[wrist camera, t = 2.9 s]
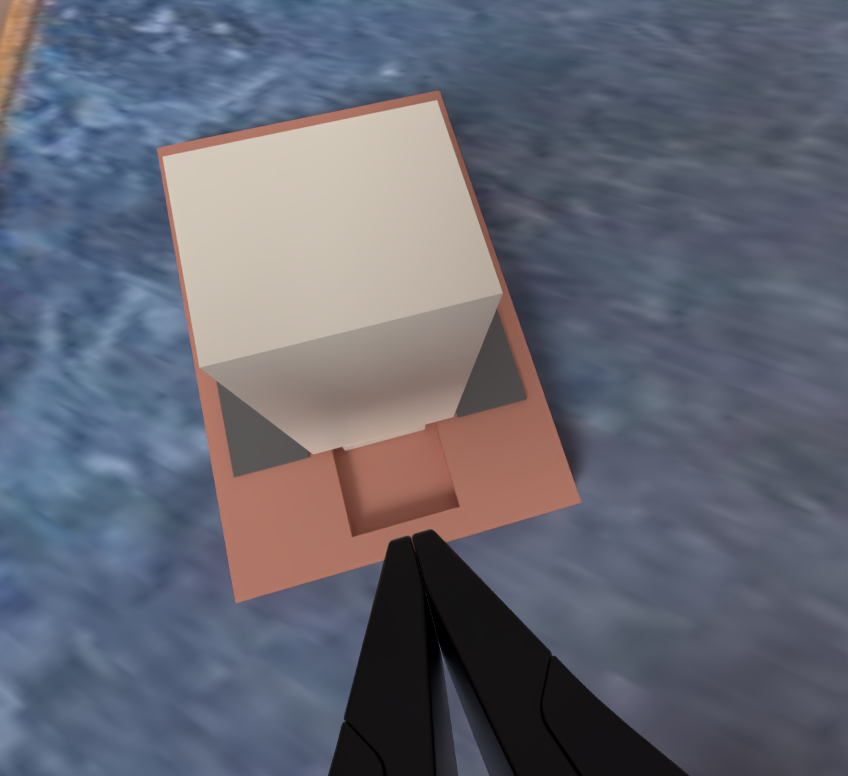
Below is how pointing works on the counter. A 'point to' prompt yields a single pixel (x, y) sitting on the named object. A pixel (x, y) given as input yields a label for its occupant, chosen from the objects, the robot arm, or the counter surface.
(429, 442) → the switch block
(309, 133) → the switch tab
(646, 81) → the counter surface
